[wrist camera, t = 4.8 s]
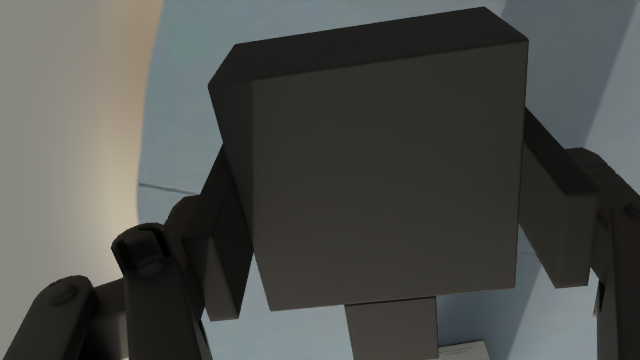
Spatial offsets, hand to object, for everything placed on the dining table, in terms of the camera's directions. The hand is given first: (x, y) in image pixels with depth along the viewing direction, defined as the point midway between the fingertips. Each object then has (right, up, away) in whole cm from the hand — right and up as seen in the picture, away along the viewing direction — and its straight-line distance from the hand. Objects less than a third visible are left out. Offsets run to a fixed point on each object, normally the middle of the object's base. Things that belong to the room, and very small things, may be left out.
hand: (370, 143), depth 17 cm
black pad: (0, -1, +1) cm, 1 cm away
